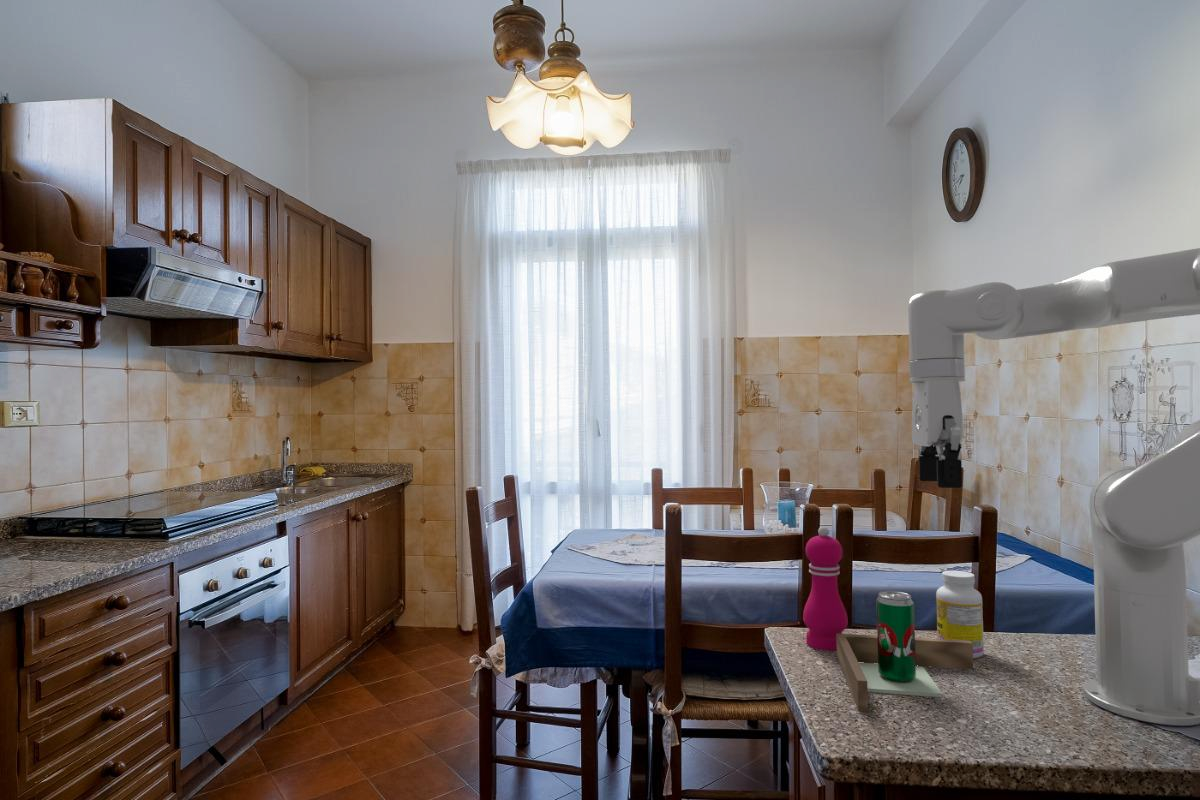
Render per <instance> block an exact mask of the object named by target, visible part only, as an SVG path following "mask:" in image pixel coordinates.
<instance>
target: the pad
mask: <svg viewBox="0 0 1200 800" xmlns="http://www.w3.org/2000/svg"><path fill="white" fill-rule="evenodd" d="M859 665H860V667H861V669H862V671H863V673H864V675H865V677H866V680H867V690H868V693H877V694H891V695H892V694H893V695H904V696H905V695H907V696H916V697H918V696H919V697H920V696H921V697H932V698H933V697H934V698H936V697H937V698H944V697H943V696H944V695H943V692H942V691H941V689H940V688H939V686H938V685H937V684H936V683H935V681H934V680H933V678H932V677H931V676H930V674H929V673H928V672H927V670H926V669H925V667H922V666H916V677H915V678H914V679H913V680H912V681H910V682H905V683H900V682H893V681H890V680H887V679H885V678H883V677H882V676H881V675H880V673H879V672H878V664H874V663H859Z"/></svg>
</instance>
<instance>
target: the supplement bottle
mask: <svg viewBox="0 0 1200 800" xmlns="http://www.w3.org/2000/svg"><path fill="white" fill-rule="evenodd" d="M941 574H942V575H941V579H942V581H943V585H942V586H940V587H939V588H938V589H937V590H936V593H935V594H936V595H935V597H936V598H935V599H936V628H937V629H936V631H937V633H936V634H937V636H936V637H937V638H936V639H950V640H968V641H971V642H972V643H973V659H977V658H980V657H982V656H983V655H984V653H985V652H984V651H985V650H984V620H983V619H984V618H983V614H984V613H983V596H982V594H981V592H980V591H978V590H977V589H975V587H974V585H975V583H976V580H975V579H976V578H975V574H974V573H971V572H969V571H963V570H944V571H942V573H941Z"/></svg>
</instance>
